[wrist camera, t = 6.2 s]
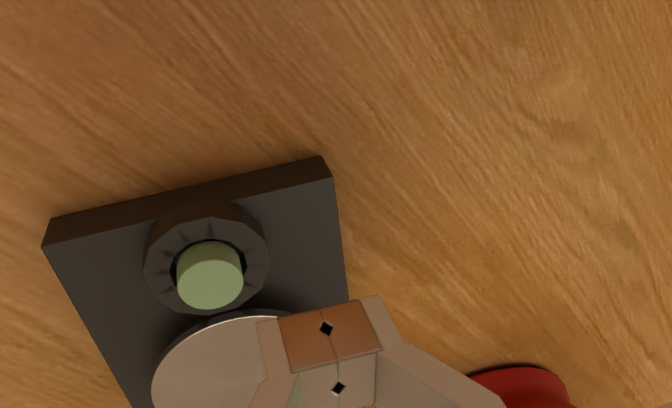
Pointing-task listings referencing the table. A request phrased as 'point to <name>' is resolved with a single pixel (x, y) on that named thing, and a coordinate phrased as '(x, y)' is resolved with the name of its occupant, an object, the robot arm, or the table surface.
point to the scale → (179, 234)
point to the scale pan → (212, 363)
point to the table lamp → (525, 387)
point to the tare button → (209, 275)
